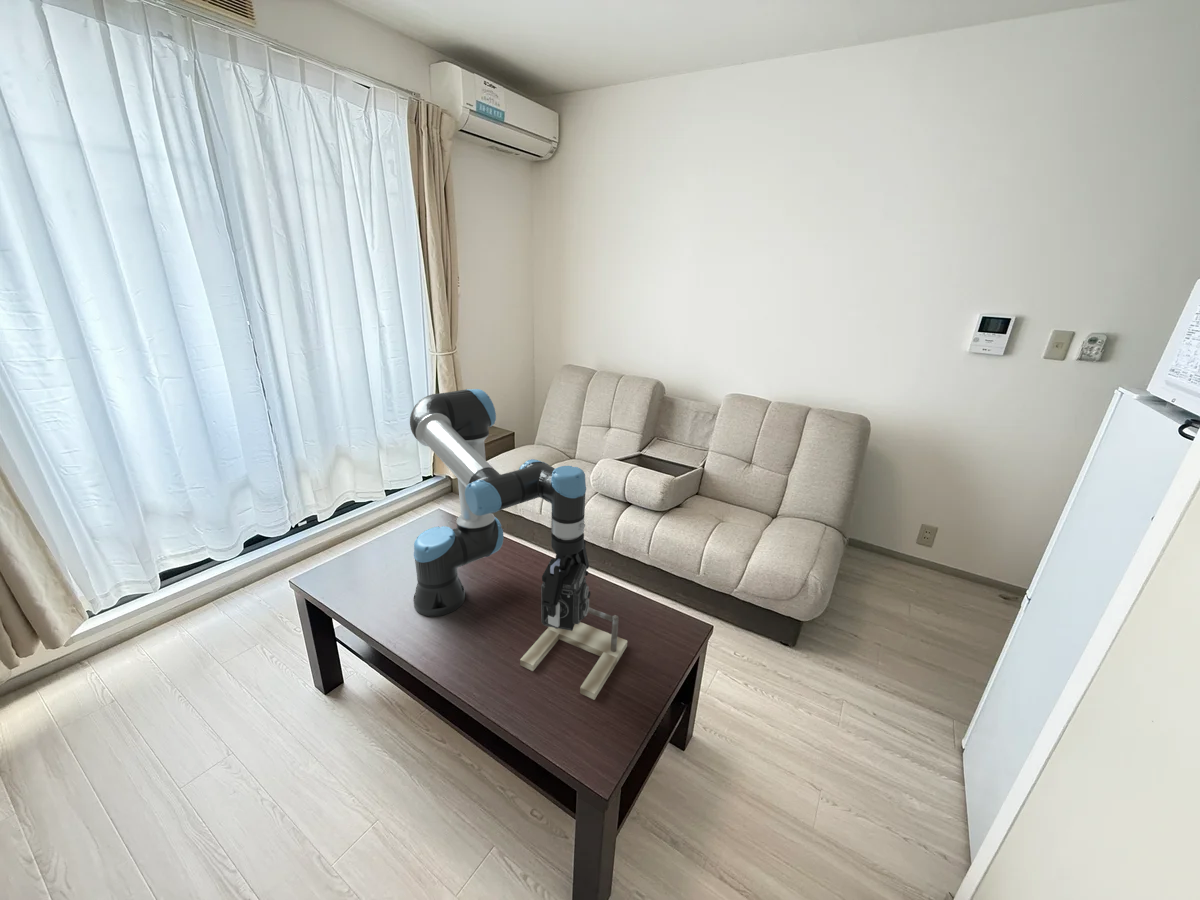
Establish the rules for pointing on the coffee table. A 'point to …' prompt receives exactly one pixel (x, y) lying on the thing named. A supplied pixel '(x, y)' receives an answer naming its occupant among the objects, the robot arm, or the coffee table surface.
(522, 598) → the coffee table surface
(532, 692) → the coffee table surface
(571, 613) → the camera
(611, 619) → the wooden rack
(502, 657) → the coffee table surface
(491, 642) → the coffee table surface
